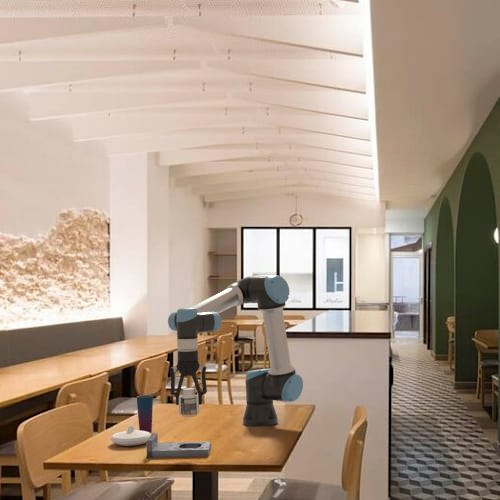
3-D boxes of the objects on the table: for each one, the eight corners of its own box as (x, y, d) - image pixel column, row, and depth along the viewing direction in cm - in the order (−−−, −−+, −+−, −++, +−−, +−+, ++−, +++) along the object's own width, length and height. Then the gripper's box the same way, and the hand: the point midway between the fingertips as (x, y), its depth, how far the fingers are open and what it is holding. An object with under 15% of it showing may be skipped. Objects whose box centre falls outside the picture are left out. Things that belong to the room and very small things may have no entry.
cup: (150, 434, 298) (149, 397, 298) (135, 433, 299) (134, 397, 300) (156, 430, 305) (155, 394, 305) (140, 430, 306) (139, 394, 306)
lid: (116, 450, 271) (115, 431, 271) (106, 442, 285) (106, 424, 285) (156, 445, 277) (156, 427, 277) (145, 438, 291) (145, 420, 292)
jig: (211, 447, 270) (210, 431, 270) (208, 456, 257) (207, 439, 257) (152, 449, 270) (152, 433, 270) (146, 458, 257) (146, 441, 257)
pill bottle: (181, 415, 266) (180, 387, 267) (197, 414, 267) (196, 387, 267) (181, 417, 261) (180, 390, 261) (197, 417, 261) (196, 389, 262)
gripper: (213, 348, 268) (215, 411, 267) (163, 349, 269) (165, 412, 268) (212, 350, 261) (214, 415, 260) (160, 351, 261) (162, 416, 260)
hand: (189, 413), depth 264 cm, fingers closed on pill bottle, 6 cm apart
